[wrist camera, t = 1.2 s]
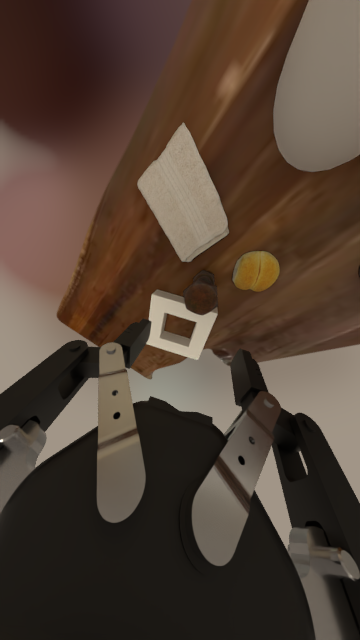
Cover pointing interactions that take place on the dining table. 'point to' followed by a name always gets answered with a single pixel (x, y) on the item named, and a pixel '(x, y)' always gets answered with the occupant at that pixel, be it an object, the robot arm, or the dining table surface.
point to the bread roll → (256, 271)
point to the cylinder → (321, 88)
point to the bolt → (201, 294)
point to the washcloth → (184, 197)
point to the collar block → (176, 306)
